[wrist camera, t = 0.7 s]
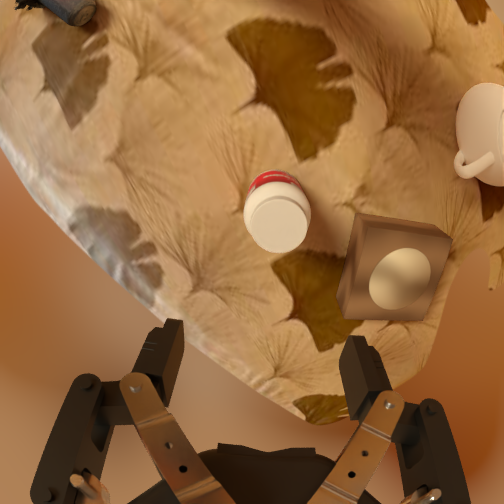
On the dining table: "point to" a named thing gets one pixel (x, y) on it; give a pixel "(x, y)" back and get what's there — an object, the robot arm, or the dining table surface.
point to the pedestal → (391, 268)
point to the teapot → (481, 134)
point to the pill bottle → (277, 211)
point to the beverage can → (64, 9)
